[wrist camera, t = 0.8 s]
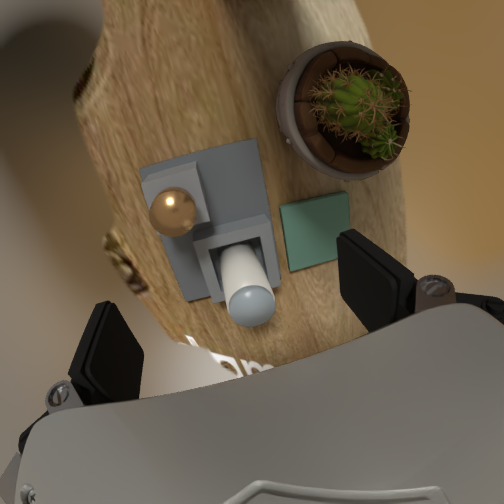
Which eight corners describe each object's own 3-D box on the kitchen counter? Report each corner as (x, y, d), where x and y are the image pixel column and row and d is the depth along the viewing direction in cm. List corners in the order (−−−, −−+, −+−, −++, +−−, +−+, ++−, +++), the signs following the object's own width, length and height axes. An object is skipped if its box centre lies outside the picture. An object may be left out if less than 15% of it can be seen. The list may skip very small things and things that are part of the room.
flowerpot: (367, 71, 30) (483, 64, 12) (353, 172, 37) (458, 226, 19) (266, 45, 27) (343, -21, 9) (252, 159, 33) (315, 208, 16)
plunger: (153, 183, 29) (143, 199, 23) (191, 172, 29) (189, 185, 24) (164, 218, 31) (157, 242, 26) (200, 208, 32) (201, 230, 26)
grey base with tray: (140, 168, 31) (129, 178, 26) (254, 138, 32) (265, 141, 27) (185, 297, 41) (185, 324, 35) (279, 273, 42) (291, 296, 37)
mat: (278, 205, 37) (280, 208, 36) (344, 191, 38) (348, 193, 37) (288, 268, 42) (290, 271, 41) (347, 251, 42) (350, 254, 41)
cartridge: (214, 243, 36) (222, 296, 26) (251, 233, 37) (273, 283, 26) (223, 274, 39) (234, 333, 28) (257, 265, 39) (280, 320, 29)
